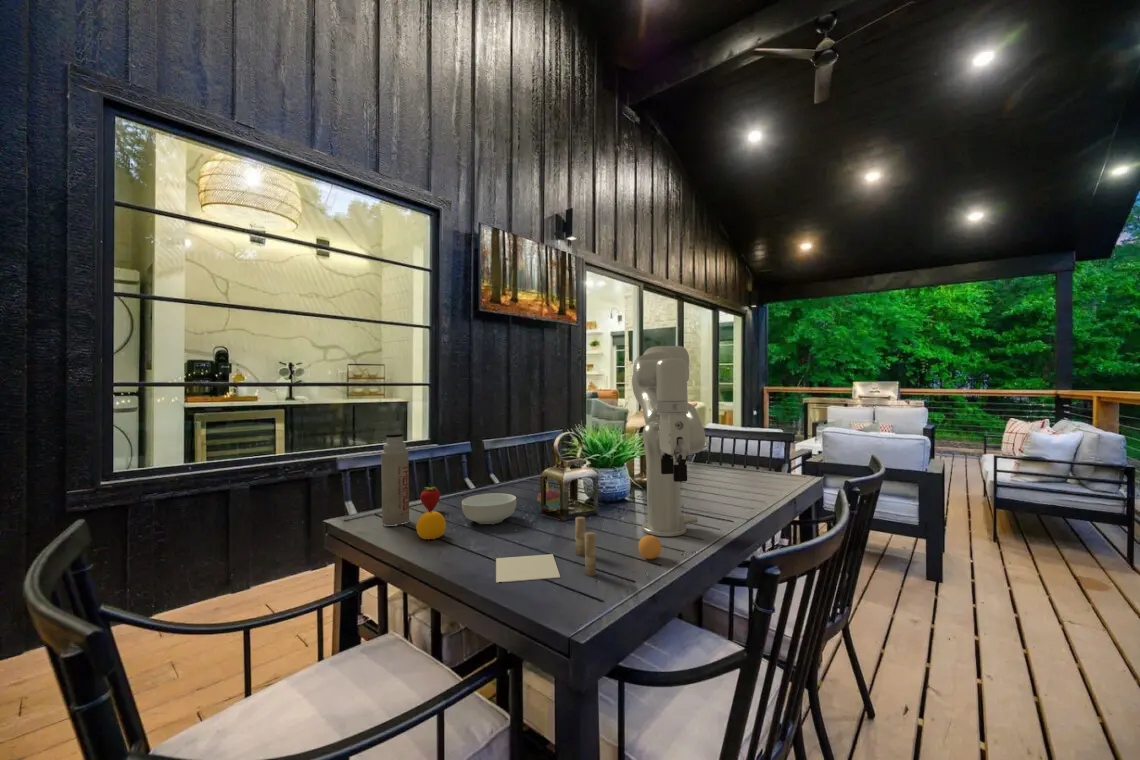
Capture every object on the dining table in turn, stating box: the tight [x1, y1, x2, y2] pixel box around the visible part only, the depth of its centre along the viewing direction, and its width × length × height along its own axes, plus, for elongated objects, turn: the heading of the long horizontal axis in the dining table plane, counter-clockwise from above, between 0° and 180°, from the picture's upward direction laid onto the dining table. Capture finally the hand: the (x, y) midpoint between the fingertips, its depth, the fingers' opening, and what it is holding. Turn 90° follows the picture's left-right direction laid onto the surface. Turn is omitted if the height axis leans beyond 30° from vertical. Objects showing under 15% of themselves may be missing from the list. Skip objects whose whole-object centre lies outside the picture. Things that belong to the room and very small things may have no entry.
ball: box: [638, 534, 662, 560], centre depth 114 cm, size 6×6×6 cm
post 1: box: [575, 516, 586, 557], centre depth 118 cm, size 2×2×9 cm
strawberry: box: [419, 484, 441, 512], centre depth 159 cm, size 6×8×10 cm
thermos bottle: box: [380, 432, 410, 525], centre depth 147 cm, size 8×8×28 cm
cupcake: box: [537, 481, 561, 509], centre depth 159 cm, size 9×8×12 cm
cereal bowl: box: [461, 492, 517, 525], centre depth 148 cm, size 17×17×7 cm
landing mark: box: [495, 553, 561, 584], centre depth 110 cm, size 14×14×1 cm
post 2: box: [584, 531, 597, 577], centre depth 106 cm, size 2×2×9 cm
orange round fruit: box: [415, 510, 447, 541], centre depth 132 cm, size 8×8×8 cm
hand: (673, 477), depth 116 cm, fingers open, 9 cm apart
